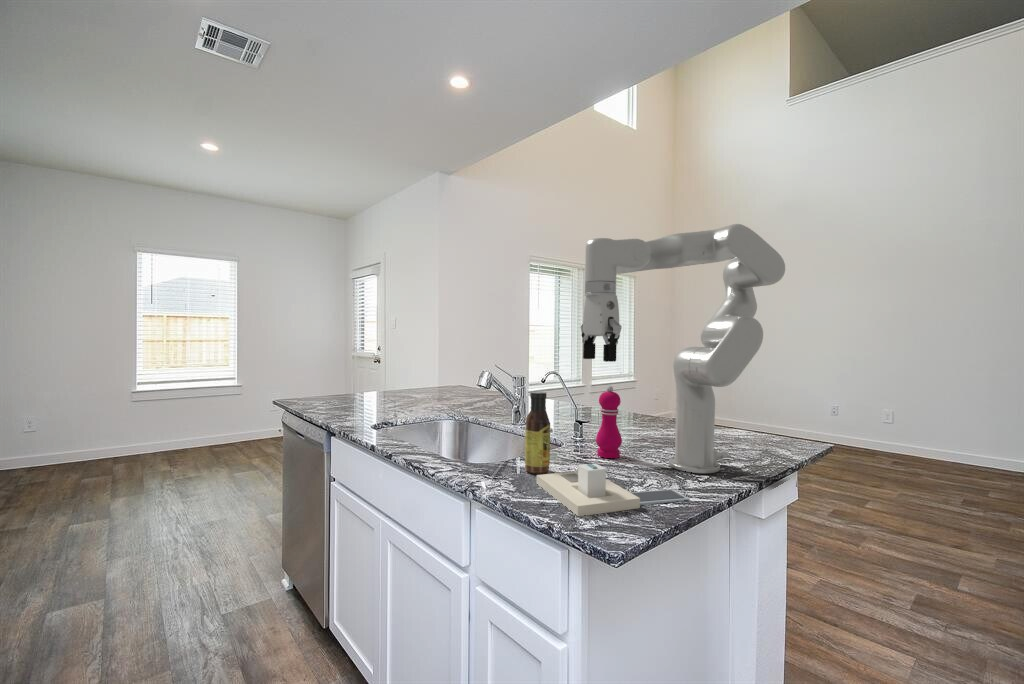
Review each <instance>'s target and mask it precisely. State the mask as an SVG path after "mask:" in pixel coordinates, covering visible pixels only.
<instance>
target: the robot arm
mask: <svg viewBox="0 0 1024 684" xmlns="http://www.w3.org/2000/svg"><path fill="white" fill-rule="evenodd" d="M728 260H729V261H728ZM725 261H728V262H727V263H726V264H725V266H724V268H723V272H722V281H723V284H724V287H725V298H724V300H723V302H722V303H721V305H720V306H719V307H718V309H717V310H716V312H715V313H714V314H713V315H712V316H711V318H710V319H709V320H708V321H707V322H706V324H705V325H704V327H703V329H702V330H701V333H700V342H701V344H702V345H703V346H690V347H685V348H683V349H681V350H680V351H678V353H677V354H676V356H675V357H674V360H673V363H672V364H673V365H672V367H673V374H674V380H675V381H674V382H675V390H676V391H675V393H676V395H675V396H676V398H675V400H676V401H675V404H676V406H675V432H674V433H675V434H674V435H675V442H674V456H673V457H670V458H669V459H668V465H669V467H671V468H673V469H676V470H679V471H682V472H685V471H686V473H691V472H692V473H693V474H715V473H718V472H720V470H721V465H720V464H719V463H718V461H719V460H720V459H727V458H728V457H729V454H728V452H727V451H726V450H722V451H717V449H716V450H715V424H716V423H715V420H716V415H715V414H716V397H715V393H714V389H713V387H714V388H715V387H716V388H724V387H728V386H730V385H732V384H733V383H734V382H735V381H736V380H737V379H738V378H739V377H740V376H741V375H742V373H743V372H744V370H745V369H746V368H747V366H748V365H749V364H750V362H751V361H752V360H753V359H754V357H755V356H756V355H757V353H758V351H759V350H760V348H761V346H762V344H763V339H764V330H763V327H762V324H761V323H760V322H759V321H758V319H756V318H755V315H756V313H757V310H758V303H757V299H756V296H755V292H754V288H757V287H766V286H771V285H774V284H777V283H778V282H780V281H781V280H782V279H783V277H784V275H785V273H786V263H785V260H784V258H783V257H782V255H781V254H780V253H779V252H778V251H777V249H775V248H774V247H773V246H772V245H770V244H769V243H768V242H767V241H766V240H765V239H764V238H762V237H761V236H760V235H759V234H758V233H757V232H756V231H754V230H753V229H751V228H749V226H746V225H744V224H740V223H734V224H730V225H727V226H723V227H720V228H715V229H710V230H709V229H708V230H700V231H699V230H698V231H691V232H690V231H689V232H679V233H678V232H677V233H674V234H670V235H665V236H661V237H659V238H656V239H653V240H647V241H645V240H643V239H640V238H627V239H626V238H624V239H612V238H608V237H597V238H592V239H589V240H588V241H587V242H586V244H585V268H584V269H585V270H584V272H585V277H584V279H585V280H584V296H585V299H584V300H585V301H584V306H583V307H584V308H583V321H582V322H583V323H582V324H581V325H580V331H581V338H582V342H581V343H582V344H583V346H582V349H583V350H582V352H583V353H582V354H583V355H582V358H583V359H584V360H595V359H596V342H595V341H596V338H597V337H602V339H603V341H604V343H605V344H603V351H602V352H603V353H602V354H603V355H602V357H603V358H602V359H603V362H607V363H608V362H610V363H611V362H612V363H613V362H616V361H617V345H618V343H619V339H620V336H621V331H622V325H621V324H620V311H619V309H620V308H619V301H618V295H617V275H621V274H628V273H637V272H645V271H651V270H664V269H666V270H667V269H673V268H675V269H676V268H682V267H689V266H697V265H705V264H713V263H720V262H725Z"/></svg>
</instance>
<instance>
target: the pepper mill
mask: <svg viewBox="0 0 1024 684" xmlns="http://www.w3.org/2000/svg"><path fill="white" fill-rule="evenodd" d="M621 402H622V400H621V397H620V395H619V394H618V393H617V392H615V391H614V387H613V386H611V385H608V386H607V387H606V391H604V392H602V393H601V394H600V395H599V397H598V404H599V406H601V408H600V414H601V425H600V427H599V429H598V431H597V432H596V433H597V434H596V437H595V443H596V445H597V446H598V448H597V449H596V450H597V452H596V455H597V457H599V456H600V457H599V458H601V457H604V458H603V459H605V458H617V459H619V458H620V456H621V455H620V454H621V451H620V449H619V448H620V447H621V446H622V443H623V441H622V435H621V432H620V430H619V428H618V423H617V422H618V421H617V416H618V415H619V408H618V407H619V406H620V405H621ZM618 457H619V458H618Z"/></svg>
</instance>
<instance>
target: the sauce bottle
mask: <svg viewBox="0 0 1024 684" xmlns="http://www.w3.org/2000/svg"><path fill="white" fill-rule="evenodd" d="M546 403H547V392H545V391H531V392H530V411H529V412H528V414H527V416H526V418H525V419H526V420H525V431H524V432H525V434H524V435H525V437H524V438H525V440H524V441H525V442H524V443H525V444H524V464H525V465H524V466H525V467H524V468H525V469H524V470H525V472H527V473H530V474H535V475H542V474H547V473H548V472H549V471H550V460H551V459H550V458H551V455H550V454H551V453H550V452H551V451H550V450H551V421H550V419H549V416H548V413H547V410H546V409H547V408H546V406H547V405H546Z"/></svg>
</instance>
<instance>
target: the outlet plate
mask: <svg viewBox="0 0 1024 684" xmlns="http://www.w3.org/2000/svg"><path fill="white" fill-rule="evenodd" d="M537 484H538V485H537ZM536 485H537V486H539V487H540V488H541V487H542V488H543V489H542V488H541V489H542V490H543V491H545V492H546V493H547V492H548V493H547V494H548V495H550V496H551V495H552V496H553V497H552V496H551V497H552V498H553V499H555V500H556V499H557V500H558V501H557V500H556V501H557V502H559V504H561V503H562V504H563V505H562V504H561V505H562V506H563V507H565V506H566V507H567V508H568V509H567V508H566V507H565V508H566V509H567V510H569V511H570V510H571V511H572V512H573V513H572V512H571V511H570V512H571V513H572V514H573V515H575V514H576V515H577V516H579V517H585V516H584V515H586V516H592V515H593V516H594V515H599V514H600V515H601V514H608V513H614V512H621V511H622V512H623V511H628V510H636V509H640V508H641V505H640V498H639V497H637V496H635V495H633V494H632V493H630V491H629V490H626V489H624V488H623V487H621V486H619V485H617V484H616V483H614V482H612V481H611V480H609V479H607V478H606V496H605V497H597V498H588V497H587V496H585V495H584V494H582V493H581V492H579V491H578V470H575V471H566V472H565V471H564V472H555V473H542V474H536ZM576 515H575V516H576ZM577 516H576V517H577Z"/></svg>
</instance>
